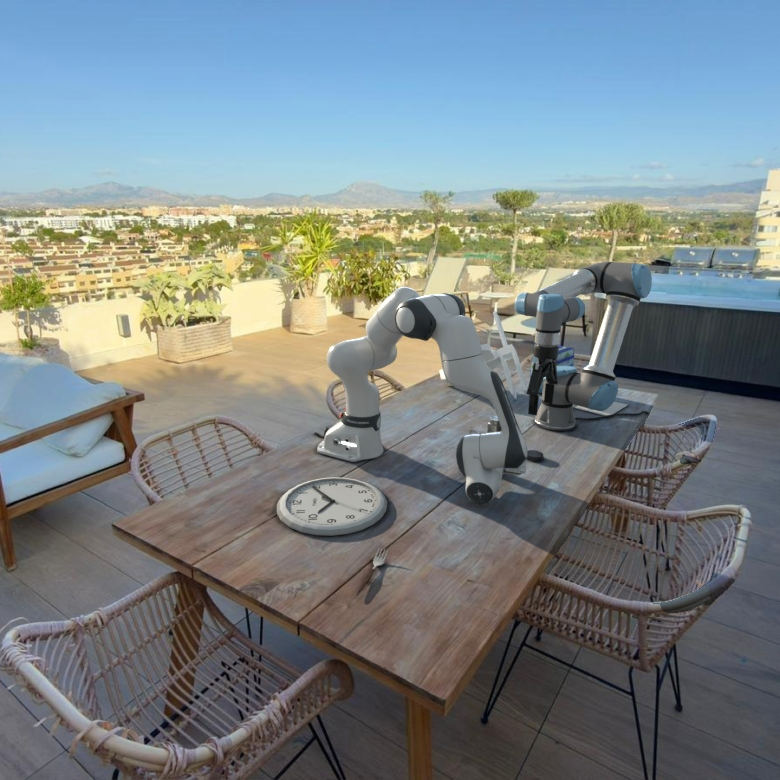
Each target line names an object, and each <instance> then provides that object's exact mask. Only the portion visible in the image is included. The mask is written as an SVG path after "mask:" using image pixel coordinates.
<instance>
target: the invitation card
mask: <svg viewBox="0 0 780 780" xmlns="http://www.w3.org/2000/svg"><path fill="white" fill-rule="evenodd" d="M628 406H629V404H627V403H623V402H618V401H614V402H613V404H612V405H611V406H610V407H609V408H608V409H606V410H604V411H597V410H591V409H589V408H585V407H582V406H578V405H575V406H574V407H573V409H575V410H581V411H584V412H587V413H593V414H596V415H600V416H607V415H612V414H617V413H619V411H621V410H623V409H624V408H626V407H628Z"/></svg>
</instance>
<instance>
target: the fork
mask: <svg viewBox="0 0 780 780" xmlns="http://www.w3.org/2000/svg"><path fill="white" fill-rule="evenodd" d="M380 547H381V545H379V546H378V549H377V551H376V554H375V557H374V558H373V561H372V563H373V567H372V568H371V569H370V570H369V571H368V573H367V574H366V575H365V576H364V578H363V580H362V582H361V584H360V586H359V589H357V592H356V596H359V594H360V593H361V591H362V590H363V589H364V587H365V586H367V584H368V583H369V581H370V580H371V579H372V576H373V574H374V571H375V569H376V568H377V567H379V566H382V565H384V564H385V562H386V559H387V556H388V552H389V549H387V550H386V548H387V546H385V547H383V546H382V548H381V550H380ZM383 548H384V550H383ZM379 551H380V552H379ZM382 551H383V552H382ZM385 551H386V552H385Z"/></svg>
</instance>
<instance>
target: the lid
mask: <svg viewBox="0 0 780 780" xmlns="http://www.w3.org/2000/svg"><path fill="white" fill-rule="evenodd" d="M527 451H528V452H527V459H526V461H529V462H532V463H533V462H534V463H540V462H542V461H543V460H544V453H543V452H542V451H539V450H537V449H527Z"/></svg>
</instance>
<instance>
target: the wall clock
mask: <svg viewBox="0 0 780 780" xmlns="http://www.w3.org/2000/svg"><path fill="white" fill-rule="evenodd" d="M387 509H388V500H387V498H386V496H385V494H384V493H383V492H382V491H381V490H380V489H379V488H377V487H376V486H374V485H372V484H371V483H369V482H365V481H362V480H359V479H355V478H349V477H338V476H337V477H335V476H333V477H332V476H331V477H322V478H317V479H312V480H307V481H305V482H302V483H299V484H297V485H295V486H293V487H292V488H290V489H288V490H287V491H286V492H285V493H284V494H283V495H281V496H280V498H279V499H278V502H277V503H276V515H277V517H278V518H279V520H280V521H281V522H282V523H283V524H285V525H286V526H287V527H288V528H290V529H293V530H295V531H297V532H299V533H303V534H308V535H312V536H327V537H328V536H329V537H331V536H332V537H333V536H342V535H350V534H352V533H356V532H361V531H363V530H366V529H368V528H369V527H372V526H373V525H375V524H376V523H378V522H379V521H380V520H381V519H382V518H383V517H384V516H385V514H386V512H387Z"/></svg>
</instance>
